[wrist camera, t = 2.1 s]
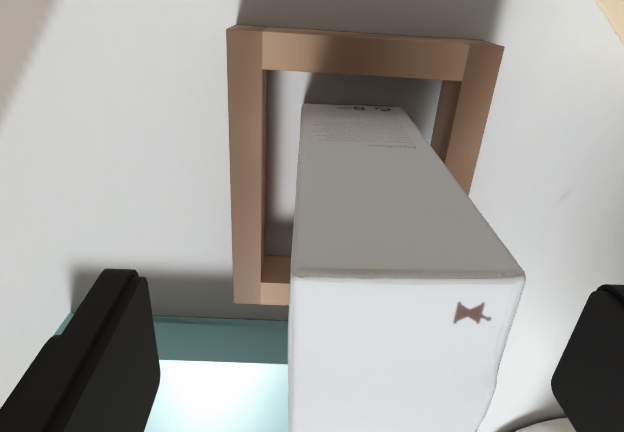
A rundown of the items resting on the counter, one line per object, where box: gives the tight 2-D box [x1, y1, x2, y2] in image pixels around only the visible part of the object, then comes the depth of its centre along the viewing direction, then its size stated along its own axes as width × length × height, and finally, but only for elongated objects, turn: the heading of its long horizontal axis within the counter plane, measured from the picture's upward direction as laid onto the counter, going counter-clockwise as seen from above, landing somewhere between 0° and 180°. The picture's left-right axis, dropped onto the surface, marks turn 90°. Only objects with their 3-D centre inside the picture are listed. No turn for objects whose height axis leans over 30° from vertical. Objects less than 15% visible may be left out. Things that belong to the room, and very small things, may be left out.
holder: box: [226, 25, 504, 306], centre depth 18 cm, size 9×11×2 cm
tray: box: [53, 313, 289, 432], centre depth 25 cm, size 13×13×3 cm
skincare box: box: [288, 103, 526, 432], centre depth 14 cm, size 6×4×12 cm
